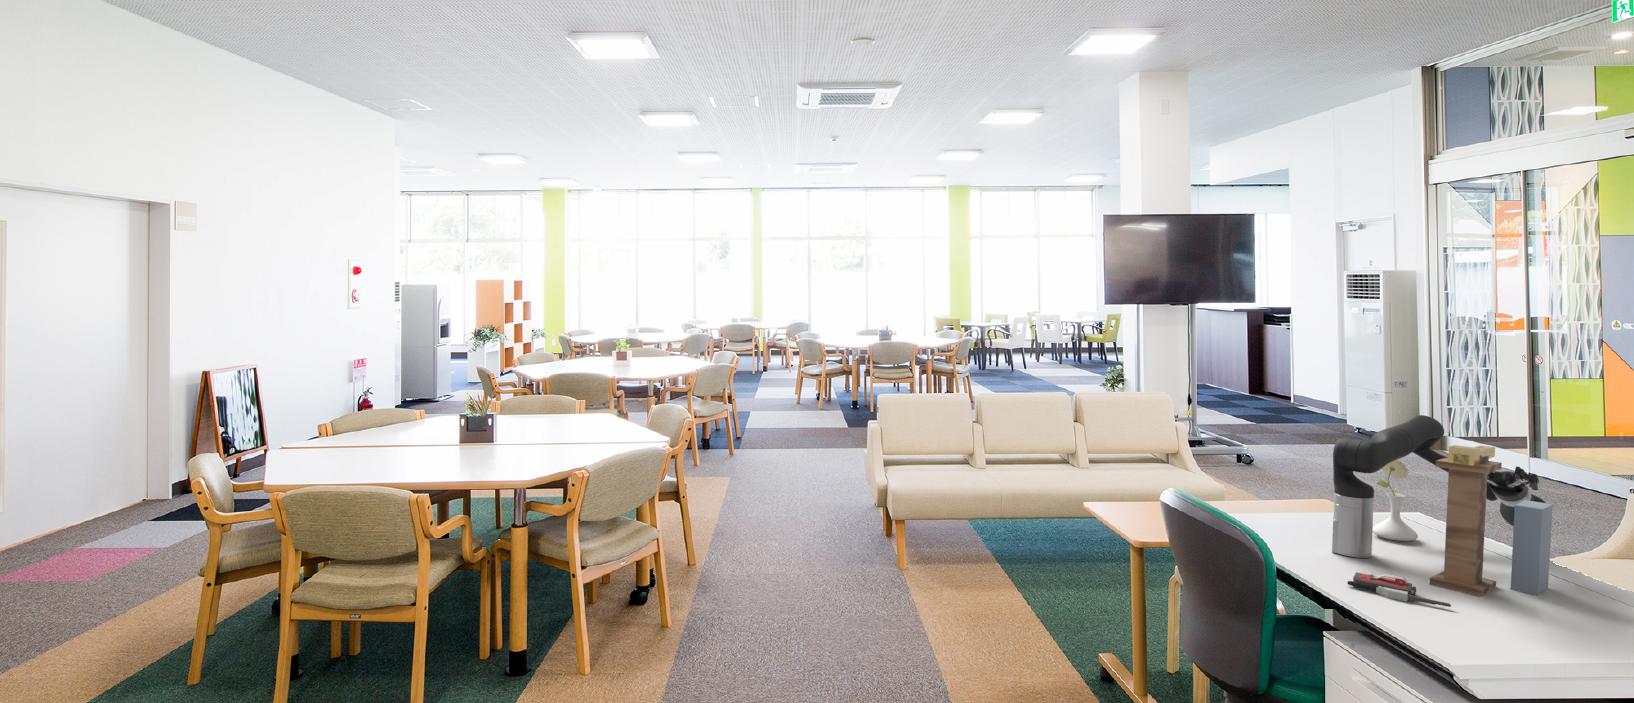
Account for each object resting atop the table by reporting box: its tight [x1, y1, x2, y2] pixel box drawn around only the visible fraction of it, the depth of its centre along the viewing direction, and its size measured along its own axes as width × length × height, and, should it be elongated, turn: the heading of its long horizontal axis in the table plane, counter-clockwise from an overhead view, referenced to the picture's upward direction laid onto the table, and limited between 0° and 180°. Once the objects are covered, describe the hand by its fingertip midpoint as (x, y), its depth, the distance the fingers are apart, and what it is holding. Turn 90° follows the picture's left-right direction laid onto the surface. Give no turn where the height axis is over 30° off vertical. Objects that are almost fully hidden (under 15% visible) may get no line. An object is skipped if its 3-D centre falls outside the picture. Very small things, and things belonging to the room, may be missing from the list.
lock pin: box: [1447, 444, 1496, 466], centre depth 186 cm, size 20×5×4 cm, turn 123°
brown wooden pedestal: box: [1429, 456, 1502, 597], centre depth 185 cm, size 12×10×33 cm
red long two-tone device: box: [1346, 571, 1452, 608], centre depth 179 cm, size 9×4×20 cm
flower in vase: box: [1372, 459, 1419, 542], centre depth 225 cm, size 13×11×25 cm
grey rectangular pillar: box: [1510, 500, 1553, 596], centre depth 183 cm, size 9×5×22 cm, turn 123°
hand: (1495, 466), depth 196 cm, fingers open, 8 cm apart
